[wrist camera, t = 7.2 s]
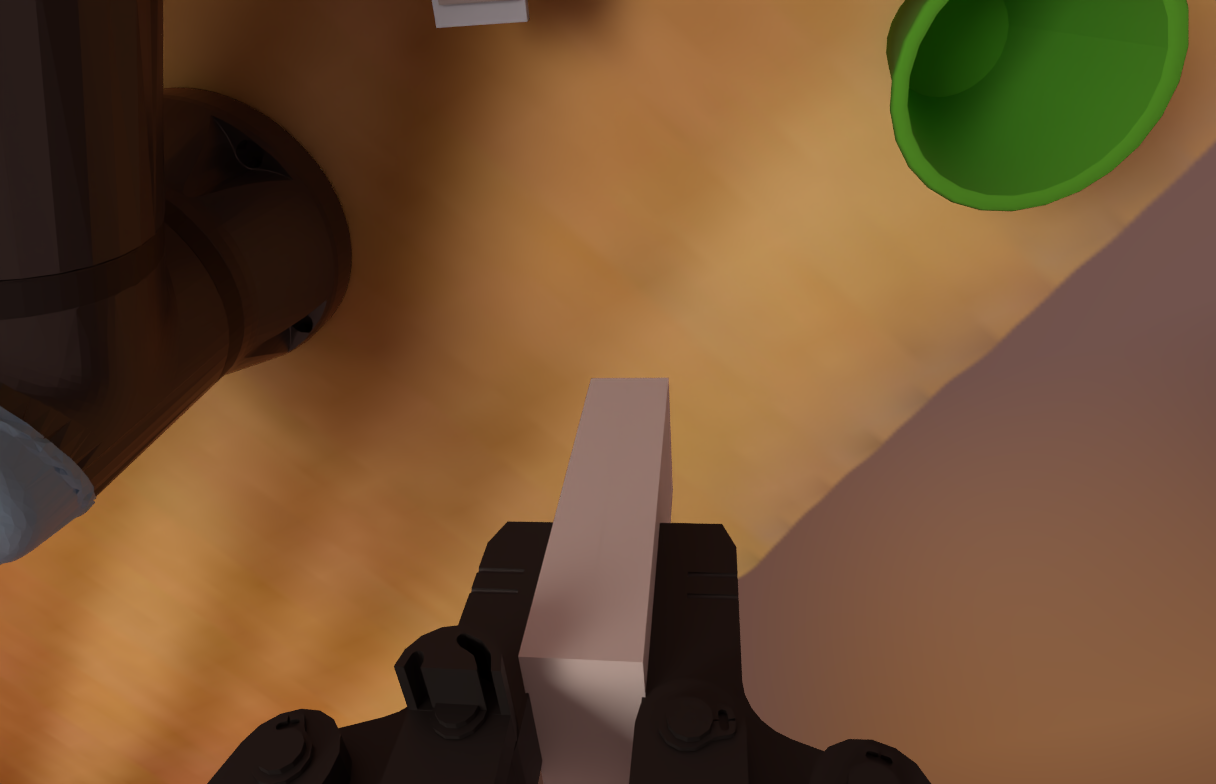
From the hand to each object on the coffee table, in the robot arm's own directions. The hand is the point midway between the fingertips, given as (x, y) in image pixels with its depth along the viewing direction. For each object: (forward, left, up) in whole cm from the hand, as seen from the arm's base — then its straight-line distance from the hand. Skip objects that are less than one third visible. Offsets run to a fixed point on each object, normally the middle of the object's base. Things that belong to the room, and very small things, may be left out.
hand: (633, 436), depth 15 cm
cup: (+12, +4, -27) cm, 30 cm away
